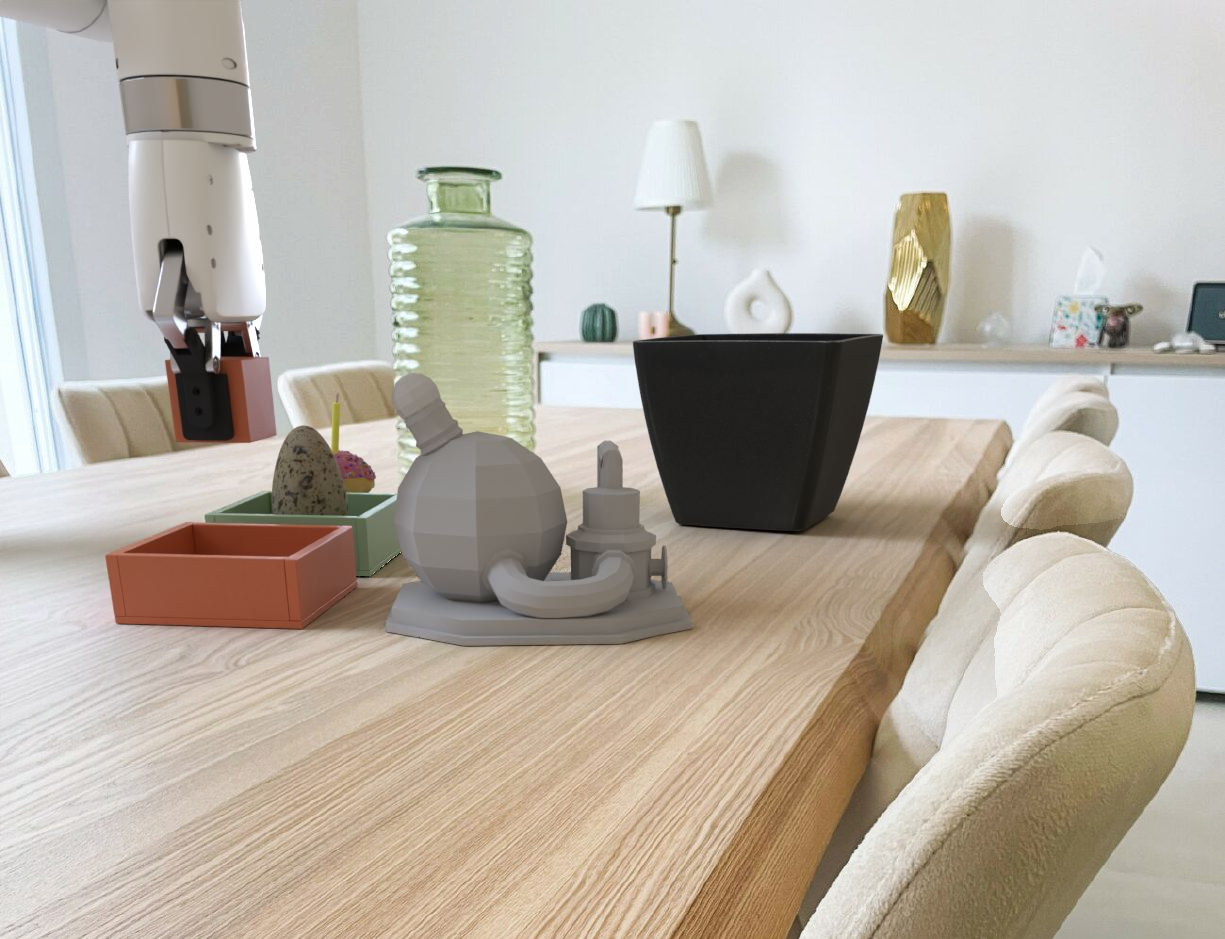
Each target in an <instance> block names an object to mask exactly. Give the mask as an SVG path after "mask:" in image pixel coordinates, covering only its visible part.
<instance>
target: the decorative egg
mask: <svg viewBox="0 0 1225 939" xmlns="http://www.w3.org/2000/svg"><path fill="white" fill-rule="evenodd" d="M271 491H272V509H273V514H282V515H329V516H348V499H347V493H346V488H345V484H344V481H343V477H342V474H341V472H340V469H339V466H338V464H337V461H336V459H335V456H334V454H333V452H332V450H331V446H330V445H329V443H328V442H327V440H326V439H325V438H324V436H323V435H322V434H321V433H320V432H319V431H318V430H317V429H315V428H314V427H312V426H309V425H305V424H303V425H298V426H296V427H294V428H293V429H291V430H290V432H288V434H287V435H286V437H285V438H284V440H283V442H282V444H281V447H280V450H279V452H278V454H277V458H276V462H275V467H274V471H273V478H272V486H271Z"/></svg>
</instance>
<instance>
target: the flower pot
mask: <svg viewBox="0 0 1225 939" xmlns="http://www.w3.org/2000/svg"><path fill="white" fill-rule="evenodd" d="M883 339H884V334H883V333H831V332H830V333H829V332H828V333H827V332H825V333H823V332H817V333H814V332H812V333H811V332H810V333H809V332H807V333H806V332H801V333H800V332H797V333H796V332H795V333H794V332H793V333H792V332H790V333H789V332H773V333H772V332H771V333H770V332H768V333H767V332H764V333H763V332H762V333H761V332H759V333H704V334H703V333H697V334H684V335H683V334H682V335H673V336H663V337H654V338H646V339H637V340H633V341H632V348H633V349H632V350H633V357H634V358H633V359H634V365H635V370H636V376H637V377H636V378H637V383H638V389H639V390H638V391H639V394H640V395H639V396H640V400H641V405H642V406H641V407H642V410H643V416H644V420H645V423H646V429H647V433H648V438H649V441H650V445H651V449H652V452H653V457H654V460H655V465H656V468H657V471H658V475H659V478H660V480H661V484H662V487H663V489H664V490H663V491H664V494H665V496H666V499H667V502H668V505H669V509H670V510H671V514H672V517H673V519H674V521H675V523H676V524H678V525H685V526H700V527H716V528H728V529H729V528H730V529H731V528H732V529H744V530H745V529H748V530H766V531H787V532H803V531H805V530H807V529H809V528H810V527H812V526H813V525H815V524H817V523H818V522H820V521H821V520H823V519H825V518H827V516H829V515H831V514H832V513H834V511H835V510H836V508H837V505H838V503H839V500H840V498H841V495H842V493H843V490H844V487H845V484H846V481H847V479H848V476H849V474H850V469H851V467H852V464H853V461H854V458H855V454H856V452H857V448H858V445H859V442H860V438H861V435H862V431H863V429H864V425H865V420H866V417H867V413H868V410H869V406H870V403H871V398H872V394H873V390H874V385H875V380H876V375H877V371H878V367H879V360H880V356H881V352H882V346H883V345H882V344H883Z"/></svg>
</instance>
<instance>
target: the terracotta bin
mask: <svg viewBox="0 0 1225 939" xmlns="http://www.w3.org/2000/svg"><path fill="white" fill-rule="evenodd" d="M104 557H105V563H106V569H107V578H108V583H109V590H110V598H111V603H112V610H113V615H114V621H115V622H114V623H115V624H120V625H121V624H122V625H123V624H124V625H153V626H156V625H158V626H186V627H187V626H188V627H190V626H192V627H223V628H224V627H226V628H254V629H255V628H259V629H261V628H263V629H288V630H289V629H290V630H291V629H292V630H294V629H295V630H303V629H304V628H305V627H307V626H309V624H310V623H312V622H313V621H315V620H316V619H317V618H318V617H320V616H321V615H322V614H324V613H325V612H326V611H328V610H329V609H330V608H331V607H333V606H334V605H336V604H337V603H339V601H341V600H342V599H343V598H345V597H346V596H348V594H349V592H350V593H351V592H353V591H354V590H355V589H357V588H358V581H357V577H356V566H355V553H354V540H353V527H352V526H335V525H290V524H245V523H205V522H198V521H197V522H195V521H185V522H183V523H180V524H178V525H175V526H172V527H171V528H168V529H166V530H163V531H161V532H158V533H155V534H153V535H151V536H148V537H146V538H143V539H141V540H139V541H136V542H133V543H131V544H128V545H126V546H123V547H121V548H119V549H116V550H114V551H111V552H109V553H106V554H105V555H104ZM354 588H355V589H354ZM353 589H354V590H353ZM344 596H345V597H344ZM332 605H333V606H332Z"/></svg>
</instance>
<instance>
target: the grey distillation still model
mask: <svg viewBox="0 0 1225 939" xmlns="http://www.w3.org/2000/svg"><path fill="white" fill-rule="evenodd" d="M391 403H392V406H393V409H394V411H395V413H396V414H397V415H398V416H399V417H400V418H401V419H402V420H403V422H404V425H405V428H406V429H408V431H409V432H410V433H411V435H412V437H413V438H414V440H415V441H416V442H415V447H416V448H417V449H419V450H420V454H419V455H418V456H417V457H415V458H414V460H413V461H412V464H411V465H410V467H409V468H408V470H407V471H406V473H405V475H404V477H403V479H402V480H401V482H400V484H399V486H398V487H397V491H396V492H397V500H396V507H395V515H394V526H395V529H396V533H397V537H398V541H399V545H400V549H401V552H402V553H401V556H402V557H403V559H404V560H405V562H407V564H408V565H409V567H410V568H411V569H412V571H413V572H414V573H415V575H416V576H417V577H418V579H419V580H418V581H410V582H405V583H402V585H401V587H400V590H399V592H398V593H397V596H396V598H395V600H394V602H393V604H392V606H391V608H390V609H389V611H388V614H387V618H386V621H385V625H384V626H385V632H386V633H392V634H396V635H397V634H399V635H403V636H408V637H414V638H419V637H420V639H425V640H429V641H430V640H431V641H435V642H441V643H446V644H451V645H456V646H457V645H458V646H461V647H462V646H463V647H470V646H471V647H472V646H473V647H475V646H476V647H477V646H478V647H479V646H481V647H482V646H553V645H554V646H555V645H556V646H557V645H558V646H559V645H560V646H561V645H622V644H626V643H630V642H631V643H632V642H634V641H638V640H639V641H640V640H643V639H648V638H652V637H657V636H661V635H667V634H672V633H675V632H676V633H677V632H682V631H687V630H692V629H693V623H694V622H693V620H692V618H691V616H690V614H689V613H688V611H687V609H686V608H685V604H684V601H683V598H682V596H681V595H678V593H677V591H676V589H675V586H674V584H673V582H672V581H668V565H669V564H668V549H667V545H666V544H664V545H662V547H661V555H660V556H661V557H660V558H652V548H653V547H654V546H656V545H657V534H655V533H653V532H650V531H648V530H646V529H645V525H644V524H642V523H640V514H641V513H640V511H641V510H640V502H641V490H639V489H637V488H634V487H626V486H624V485H623V482H624V481H623V480H624V478H623V477H624V476H623V475H624V467H623V463H624V462H623V457H622V454H621V451H620V448H619V446H618V445H617V444H616V443H615V442H613V441H612V440H603V441H602V442H601V443H599V444H598V445H597V448H596V452H597V458H596V459H597V460H596V461H597V462H596V465H597V466H596V469H597V470H596V472H597V473H596V474H597V476H596V477H597V478H596V482H597V483H596V486H597V487H596V486H595V487H588V488H587V487H586V488H585V489H583V490H582V523H580V524H578V525H577V529H576V530H573V531H571V532H569V533H567V534H566V532H567V526H568V517H567V513H566V508H565V503H564V499H563V493H562V488H561V485H559V483H558V482H557V479H555V477H554V475H553V474H552V472H551V471H550V469H549V467H547V465H546V463H545V462H544V461H543V459H542V457H541V456H538V455H537V454H536V453H534V452H533V451H532V450H530V449H529V448H527V447H526V446H524V445H523V444H522V443H520V442H518V441H517V440H515V439H514V438H512V437H508V436H505V435H501V434H496V433H491V432H490V433H489V432H484V431H478V430H477V431H472V432H467V433H463V432H464V429H463V428H462V427H460V426H459V422H458V420H457V419H455V418H453V417H452V415H451V413H450V411H449V410H448V408H447V406H446V403H445V402H444V401H443V400H442V398H441V393H440V390H439V388H438V385H437V384H436V383H435V382H434V381H433V379H432V378H431V377H429V376H427V375H425V374H422V373H419V372H410V373H408V374H405V375H402V376H401V377H400V378H399V379H398V380H397V381H396V382H395V384H394V386H393V388H392V390H391ZM564 541H565V545H566V546H567V547H569V548H570V571H557V572H554V571H552V569H553V568H554V566H555V564H556V563H557V562H558V560H559V558H560V557H561V555H562V552H563V547H564ZM551 571H552V572H551ZM652 577H660V579H659V580H658V579H653V578H652Z"/></svg>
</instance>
